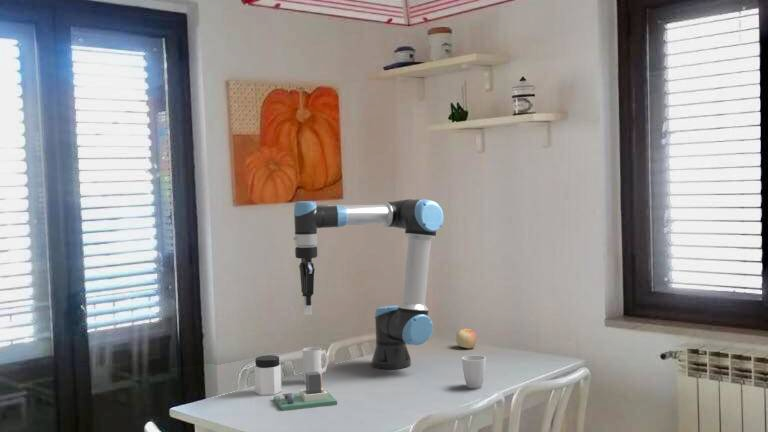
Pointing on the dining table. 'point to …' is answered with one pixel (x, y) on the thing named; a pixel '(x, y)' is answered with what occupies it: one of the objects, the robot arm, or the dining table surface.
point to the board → (304, 400)
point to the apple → (466, 338)
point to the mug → (314, 360)
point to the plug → (313, 383)
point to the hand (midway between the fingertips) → (308, 314)
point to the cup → (474, 370)
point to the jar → (267, 375)
